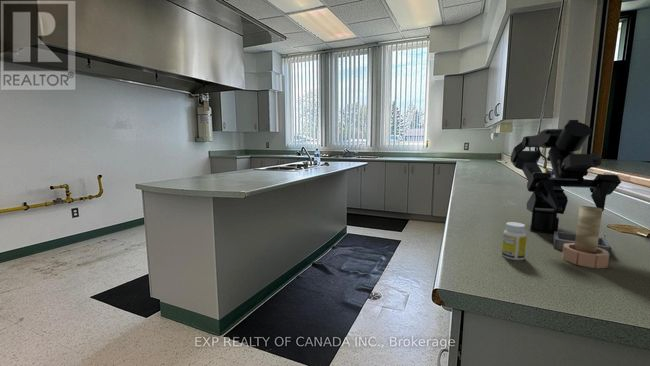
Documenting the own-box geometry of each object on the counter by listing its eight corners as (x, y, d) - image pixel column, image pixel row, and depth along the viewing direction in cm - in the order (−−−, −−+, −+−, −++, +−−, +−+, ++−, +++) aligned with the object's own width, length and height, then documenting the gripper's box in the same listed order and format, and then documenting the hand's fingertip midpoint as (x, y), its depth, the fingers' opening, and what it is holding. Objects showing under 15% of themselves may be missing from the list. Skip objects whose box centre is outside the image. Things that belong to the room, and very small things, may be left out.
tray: (554, 248, 79) (555, 239, 79) (553, 239, 86) (554, 230, 86) (610, 257, 73) (611, 247, 72) (604, 247, 80) (605, 238, 80)
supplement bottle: (521, 254, 75) (524, 222, 74) (527, 261, 70) (530, 227, 69) (499, 252, 76) (502, 220, 75) (504, 259, 72) (507, 225, 71)
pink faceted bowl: (563, 262, 70) (564, 250, 70) (561, 252, 76) (563, 241, 76) (609, 271, 65) (611, 258, 65) (603, 259, 72) (605, 247, 71)
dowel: (573, 261, 70) (580, 208, 69) (572, 256, 74) (578, 205, 72) (596, 265, 68) (603, 210, 66) (593, 260, 71) (601, 207, 69)
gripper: (534, 142, 79) (546, 189, 71) (621, 142, 74) (646, 193, 65) (522, 169, 88) (531, 213, 79) (599, 171, 82) (619, 219, 73)
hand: (579, 210), depth 74 cm, fingers open, 9 cm apart
